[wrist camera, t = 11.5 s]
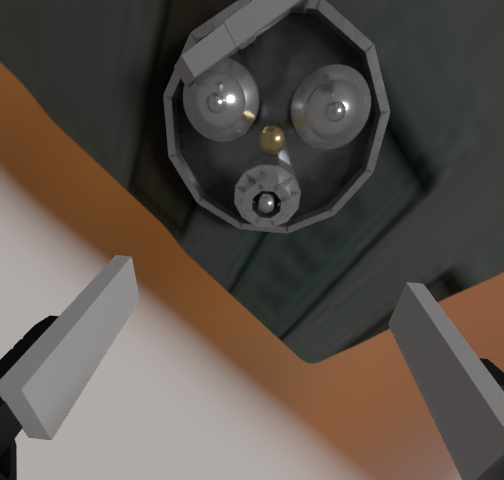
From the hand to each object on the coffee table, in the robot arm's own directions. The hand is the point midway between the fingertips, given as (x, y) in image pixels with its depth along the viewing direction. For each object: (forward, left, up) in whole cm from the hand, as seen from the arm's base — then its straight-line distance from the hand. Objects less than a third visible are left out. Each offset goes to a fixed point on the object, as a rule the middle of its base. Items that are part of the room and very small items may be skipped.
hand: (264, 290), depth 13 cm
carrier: (-5, 0, -22) cm, 23 cm away
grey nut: (+1, 0, -21) cm, 21 cm away
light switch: (-12, -3, -22) cm, 26 cm away
